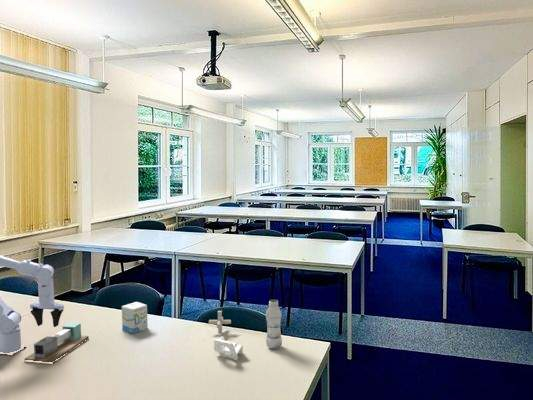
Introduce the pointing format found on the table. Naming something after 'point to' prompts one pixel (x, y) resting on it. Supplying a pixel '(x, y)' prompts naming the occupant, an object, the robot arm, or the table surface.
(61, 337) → the grey rectangular bar
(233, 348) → the mounting bracket
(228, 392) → the table surface
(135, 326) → the ink box
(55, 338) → the grey sleeve
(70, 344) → the walnut board
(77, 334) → the teal socket block
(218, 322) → the pipe connector
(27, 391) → the table surface
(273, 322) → the plastic bottle
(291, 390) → the table surface
